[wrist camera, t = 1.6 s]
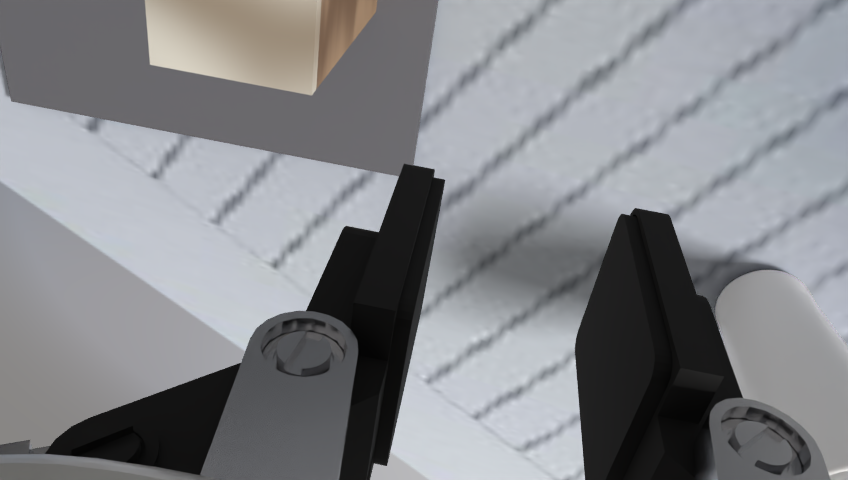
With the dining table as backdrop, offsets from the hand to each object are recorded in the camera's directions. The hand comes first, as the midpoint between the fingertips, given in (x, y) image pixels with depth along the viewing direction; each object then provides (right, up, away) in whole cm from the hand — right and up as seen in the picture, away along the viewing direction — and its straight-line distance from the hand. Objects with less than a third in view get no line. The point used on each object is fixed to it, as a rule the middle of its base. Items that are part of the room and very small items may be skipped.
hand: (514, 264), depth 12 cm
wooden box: (-6, +15, +21) cm, 27 cm away
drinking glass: (+19, -3, +29) cm, 35 cm away
